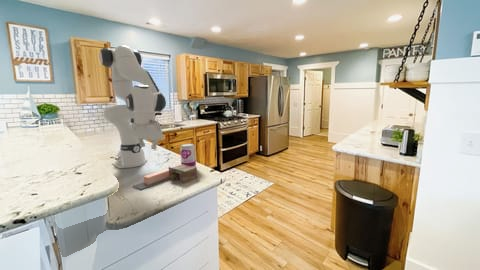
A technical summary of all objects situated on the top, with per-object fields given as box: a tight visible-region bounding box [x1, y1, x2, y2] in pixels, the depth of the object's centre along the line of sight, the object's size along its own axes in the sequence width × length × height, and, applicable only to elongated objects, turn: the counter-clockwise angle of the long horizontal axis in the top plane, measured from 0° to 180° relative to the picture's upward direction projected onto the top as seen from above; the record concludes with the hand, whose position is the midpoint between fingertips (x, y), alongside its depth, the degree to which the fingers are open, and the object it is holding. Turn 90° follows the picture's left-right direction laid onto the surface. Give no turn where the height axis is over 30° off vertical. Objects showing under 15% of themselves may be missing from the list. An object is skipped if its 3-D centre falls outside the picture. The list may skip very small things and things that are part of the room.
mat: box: [132, 177, 170, 191], centre depth 107 cm, size 7×16×1 cm, turn 145°
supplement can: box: [179, 143, 197, 167], centre depth 125 cm, size 8×8×15 cm
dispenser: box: [167, 164, 198, 184], centre depth 112 cm, size 11×9×6 cm
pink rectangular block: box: [143, 167, 170, 184], centre depth 110 cm, size 4×14×4 cm, turn 145°
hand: (148, 147), depth 104 cm, fingers open, 8 cm apart
